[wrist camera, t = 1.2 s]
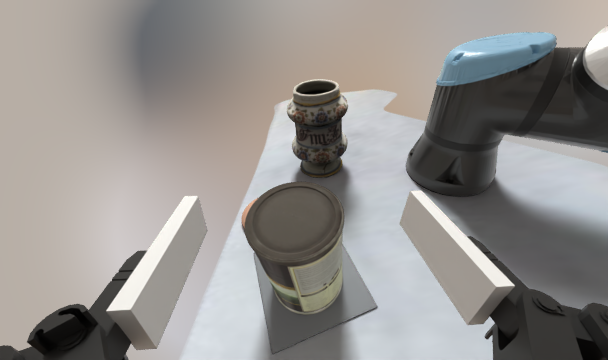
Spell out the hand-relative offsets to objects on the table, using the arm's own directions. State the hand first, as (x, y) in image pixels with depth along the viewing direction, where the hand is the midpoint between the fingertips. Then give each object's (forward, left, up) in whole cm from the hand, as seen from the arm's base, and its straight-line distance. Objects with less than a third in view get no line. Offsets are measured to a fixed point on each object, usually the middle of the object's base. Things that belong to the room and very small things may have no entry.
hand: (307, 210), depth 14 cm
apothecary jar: (-12, -30, -21) cm, 38 cm away
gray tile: (0, -6, -21) cm, 22 cm away
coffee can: (0, -6, -21) cm, 22 cm away
